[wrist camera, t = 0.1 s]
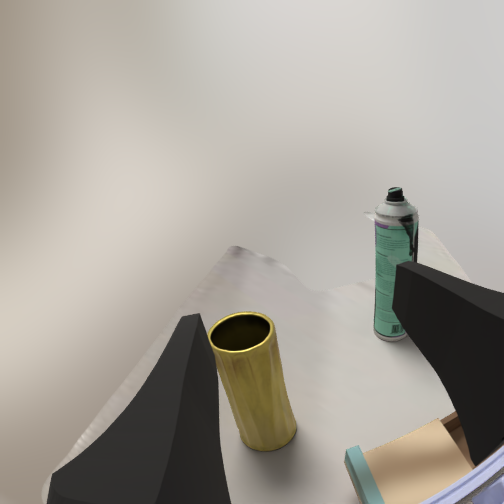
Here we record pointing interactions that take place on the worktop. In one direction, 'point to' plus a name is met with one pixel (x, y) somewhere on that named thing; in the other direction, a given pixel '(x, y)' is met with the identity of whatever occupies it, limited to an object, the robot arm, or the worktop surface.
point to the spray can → (392, 257)
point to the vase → (253, 379)
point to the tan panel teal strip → (407, 467)
